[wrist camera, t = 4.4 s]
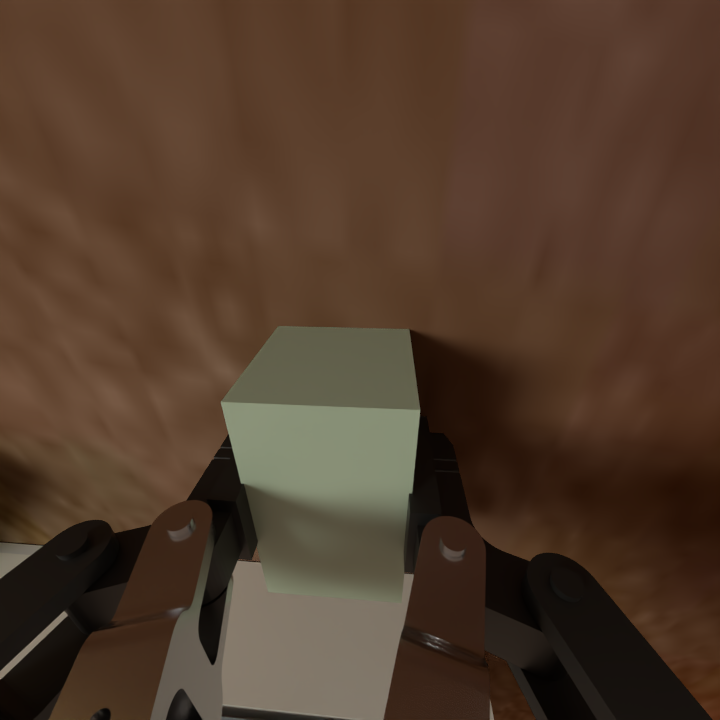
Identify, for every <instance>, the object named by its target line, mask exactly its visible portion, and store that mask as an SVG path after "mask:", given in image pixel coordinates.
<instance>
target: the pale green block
mask: <svg viewBox="0 0 720 720" xmlns="http://www.w3.org/2000/svg"><path fill="white" fill-rule="evenodd" d="M221 405H222V409H223V413H224V417H225V421H226V425H227V429H228V433H229V437H230V441H231V445H232V449H233V453H234V457H235V461H236V465H237V469H238V473H239V477H240V481H241V484H244V486H245V490H246V494H247V498H248V502H249V506H250V510H251V514H252V519H253V523H254V527H255V531H256V535H257V539H258V544H257V549H258V553H259V557H260V561H261V565H262V569H263V573H264V577H265V581H266V585H267V589H268V592H271V593H283V594H296V595H308V596H320V597H332V598H345V599H357V600H369V601H382V602H394V603H402V593H403V582H404V541H405V530H406V519H407V509H408V498H409V493H412V490H413V480H414V469H415V459H416V449H417V439H418V428H419V418H420V404H419V397H418V390H417V382H416V375H415V367H414V360H413V353H412V345H411V338H410V331H409V329H377V328H335V327H294V326H278V327H277V329H276V330H275V331H274V333H273V334H272V335H271V336H270V338H269V339H268V340H267V342H266V343H265V344H264V346H263V347H262V348H261V350H260V351H259V352H258V354H257V355H256V356H255V358H254V359H253V360H252V361H251V363H250V364H249V365H248V367H247V368H246V369H245V371H244V372H243V373H242V375H241V376H240V377H239V379H238V380H237V381H236V383H235V384H234V385H233V387H232V388H231V389H230V390H229V392H228V393H227V394H226V396H225V397H224V398H223V400H222V401H221Z"/></svg>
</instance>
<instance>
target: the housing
mask: <svg viewBox="0 0 720 720" xmlns="http://www.w3.org/2000/svg"><path fill="white" fill-rule="evenodd" d="M41 547H42V546H40V545H27V544H14V543H1V542H0V578H2V577H3V576H4V575H6V574H7V573H8V572H10V571H11V570H12V569H14V568H15V567H16V566H17V565H19V564H20V563H21V562H23V561H24V560H25V559H27V558H28V557H29V556H31V555H32V554H33V553H35V552H36V551H37V550H38V549H40V548H41ZM232 575H233V580H234V583H233V591H232V598H231V605H230V612H229V619H228V627H227V634H226V641H225V648H224V655H223V662H222V692H223V703H222V717H230V718H239V719H248V720H383V719H384V714H385V709H386V704H387V699H388V694H389V689H390V684H391V679H392V674H393V669H394V665H395V660H396V655H397V650H398V645H399V641H400V636H401V632H402V630H403V627H404V622H405V617H406V612H407V607H408V602H409V597H410V592H411V587H412V582H413V577H414V575H413V574H404V582H403V593H402V603H394V602H382V601H369V600H357V599H345V598H332V597H320V596H308V595H296V594H283V593H271V592H268V589H267V585H266V581H265V577H264V573H263V569H262V565H261V563H260V562H247V561H237V563H236V566H235V568H234V571H233V573H232ZM67 616H68V615H67V614H66V612H65V611H64V612H63V613H61V614H60V615H59V616H58V617H57V618H56V619H55V620H54V621H53V622H52V623H51V624H50V625H49V626H48V627H47V628H46V629H44V630H43V631H42V632H41V633H40V634H39V635H38V636H37V637H36V638H35V639H34V640H33V641H32V642H31V643H30V644H28V645H27V646H26V647H25V648H24V649H23V650H22V651H21V652H20V653H19V654H18V655H17V656H16V657H15V658H14V659H13V660H11V661H10V662H9V663H8V664H7V665H6V666H5V667H4V668H3V669H2V670H1V671H0V679H2V678H3V677H4V676H5V675H6V674H7V673H8V672H9V671H10V670H11V669H12V668H13V667H14V666H15V665H16V664H18V663H19V662H20V661H21V660H22V659H23V658H24V657H25V656H26V655H27V654H28V653H29V652H30V651H31V650H32V649H33V648H34V647H35V646H36V645H37V644H38V643H39V642H40V641H42V640H43V639H44V638H45V637H46V636H47V635H48V634H49V633H50V632H51V631H52V630H53V629H54V628H55V627H56V626H57V625H58V624H59V623H60V622H61V621H62V620H63V619H65V618H66V617H67ZM490 720H494V717H493V711H492V706H491V701H490Z"/></svg>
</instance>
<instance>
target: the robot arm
mask: <svg viewBox="0 0 720 720" xmlns="http://www.w3.org/2000/svg"><path fill="white" fill-rule="evenodd" d="M257 544H258V539H257V535H256V531H255V527H254V523H253V519H252V514H251V510H250V506H249V502H248V498H247V494H246V490H245V486H244V484H241V481H240V477H239V473H238V469H237V465H236V461H235V457H234V453H233V449H232V445H231V441H230V437H229V434H228V436H227V437H226V439H225V440H224V442H223V444H222V445H221V448H220V449H219V450H218V451H217V453H216V455H215V456H214V460H212V461H211V463H210V464H209V466H208V467H207V469H206V470H205V472H204V474H203V475H202V477H201V478H200V480H199V482H198V483H197V485H196V486H195V488H194V489H193V491H192V493H191V494H190V496H189V497H188V499H187V500H186V501H183V502H180V503H178V504H175V505H173V506H171V507H170V508H168V509H167V510H165V511H164V512H163V513H161V514H160V515H159V516H158V517H157V518H156V520H155V521H154V522H153V524H152V525H149V526H145V527H141V528H136V529H132V530H127V531H123V532H118V533H114V532H113V530H112V528H111V527H110V525H109V524H108V523H107V522H105V521H102V520H90V521H85V522H82V523H79V524H76V525H74V526H72V527H70V528H68V529H66V530H64V531H63V532H61V533H60V534H58V535H57V536H55V537H54V538H53V539H52V540H50V541H49V542H48V543H46V544H45V545H44V546H42V547H41V548H40V549H38V550H37V551H36V552H35V553H33V554H32V555H31V556H29V557H28V558H27V559H25V560H24V561H23V562H21V563H20V564H19V565H17V566H16V567H15V568H14V569H12V570H11V571H10V572H8V573H7V574H6V575H4V576H3V577H2V578H0V671H1V670H2V669H3V668H4V667H5V666H6V665H7V664H8V663H9V662H10V661H11V660H13V659H14V658H15V657H16V656H17V655H18V654H19V653H20V652H21V651H22V650H23V649H24V648H25V647H26V646H27V645H28V644H30V643H31V642H32V641H33V640H34V639H35V638H36V637H37V636H38V635H39V634H40V633H41V632H42V631H43V630H44V629H46V628H47V627H48V626H49V625H50V624H51V623H52V622H53V621H54V620H55V619H56V618H57V617H58V616H59V615H60V614H61V613H63V612H64V611H65V612H66V614H67V615H68V616H67V617H66V618H65V619H63V620H62V621H61V622H60V623H59V624H58V625H57V626H56V627H55V628H54V629H53V630H52V631H51V632H50V633H49V634H48V635H47V636H46V637H45V638H44V639H43V640H42V641H40V642H39V643H38V644H37V645H36V646H35V647H34V648H33V649H32V650H31V651H30V652H29V653H28V654H27V655H26V656H25V657H24V658H23V659H22V660H21V661H20V662H19V663H18V664H16V665H15V666H14V667H13V668H12V669H11V670H10V671H9V672H8V673H7V674H6V675H5V676H4V677H3V678H2V679H0V720H221V718H222V703H223V692H222V662H223V655H224V648H225V641H226V634H227V627H228V619H229V612H230V605H231V598H232V591H233V583H234V580H233V575H232V573H233V571H234V568H235V566H236V563H237V561H238V559H246V560H252V557H253V555H254V552H255V549H256V546H257ZM404 572H410V573H413V575H414V577H413V582H412V587H411V592H410V597H409V602H408V607H407V612H406V617H405V622H404V627H403V630H402V632H401V636H400V641H399V645H398V650H397V655H396V660H395V665H394V669H393V674H392V679H391V684H390V689H389V694H388V699H387V704H386V709H385V714H384V719H383V720H490V677H489V668H488V664H487V663H486V661H485V653H484V650H485V651H487V652H489V653H491V654H494V655H496V656H498V657H500V658H502V659H504V660H506V661H507V663H508V665H509V667H510V669H511V671H512V673H513V675H514V677H515V679H516V681H517V683H518V685H519V687H520V689H521V691H522V693H523V695H524V696H525V698H526V700H527V702H528V704H529V706H530V708H531V710H532V712H533V714H534V716H535V718H536V720H712V718H711V717H710V716H709V715H708V714H707V712H706V711H705V710H704V709H703V708H702V706H701V705H700V704H699V703H698V702H697V700H696V699H695V698H694V697H693V696H692V694H691V693H690V692H689V691H688V690H687V689H686V687H685V686H684V685H683V684H682V683H681V681H680V680H679V679H678V678H677V677H676V675H675V674H674V673H673V672H672V671H671V669H670V668H669V667H668V666H667V665H666V663H665V662H664V661H663V660H662V659H661V657H660V656H659V655H658V654H657V653H656V651H655V650H654V649H653V648H652V647H651V645H650V644H649V643H648V642H647V641H646V639H645V638H644V637H643V636H642V635H641V634H640V632H639V631H638V630H637V629H636V628H635V626H634V625H633V624H632V623H631V622H630V620H629V619H628V618H627V617H626V616H625V614H624V613H623V612H622V611H621V610H620V608H619V607H618V606H617V605H616V604H615V602H614V601H613V600H612V599H611V598H610V596H609V595H608V594H607V593H606V592H605V590H604V589H603V588H602V587H601V586H600V584H599V583H598V582H597V581H596V580H595V579H594V577H593V576H592V575H591V574H590V573H589V572H588V571H587V570H586V569H585V568H583V567H582V566H581V565H579V564H578V563H577V562H575V561H573V560H572V559H570V558H567V557H565V556H563V555H559V554H555V553H542V554H539V555H536V556H535V557H534V558H532V560H531V561H527V560H525V559H522V558H519V557H517V556H514V555H511V554H509V553H506V552H504V551H501V550H499V549H497V548H495V547H494V546H492V545H491V544H489V543H488V542H487V541H485V540H484V539H483V538H482V537H481V536H480V534H479V533H478V532H477V530H476V529H475V528H474V526H473V524H472V521H471V518H470V514H469V510H468V506H467V502H466V498H465V494H464V489H463V485H462V481H461V477H460V473H459V468H458V464H457V462H456V456H455V452H454V448H453V445H452V444H451V442H450V441H449V440H448V439H447V437H446V436H445V435H444V434H443V433H429V427H428V421H427V417H426V416H420V418H419V428H418V439H417V449H416V459H415V469H414V480H413V490H412V493H409V498H408V509H407V519H406V530H405V541H404Z"/></svg>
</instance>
